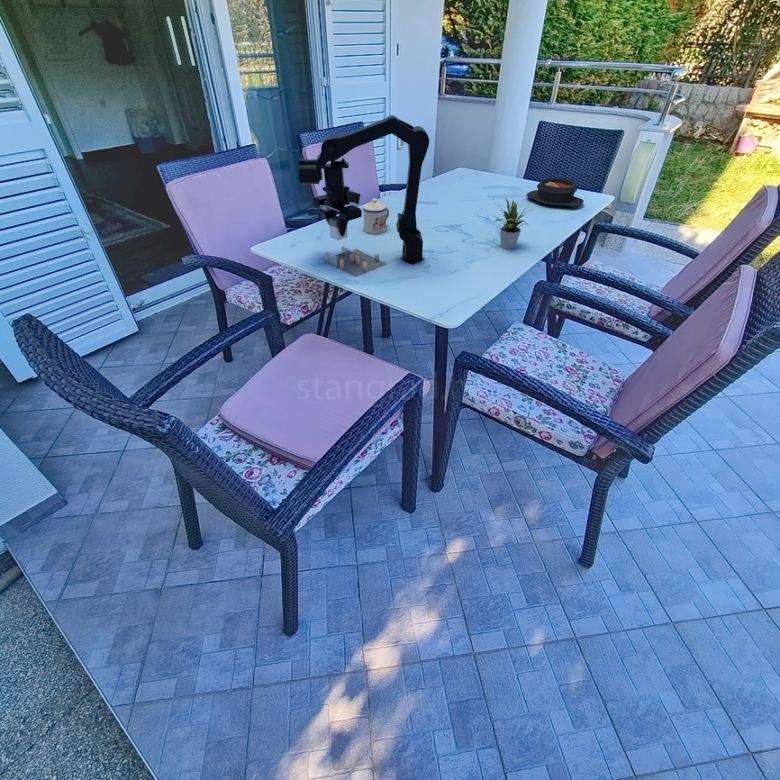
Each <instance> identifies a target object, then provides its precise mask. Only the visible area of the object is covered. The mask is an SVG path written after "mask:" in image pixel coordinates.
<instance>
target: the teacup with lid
mask: <svg viewBox="0 0 780 780" xmlns="http://www.w3.org/2000/svg"><path fill="white" fill-rule="evenodd" d="M362 213H363V214H362V215H363V230H364V232H366V233H367V234H370V235H378V234H380V235H381V234H383V233H385V232H386V231H387V220H388V219H389V217H390V209H389V208H388V207H387V205H386V204H385V203H383V202H380V201H378V199H377V198H372V199H371V201H369V202H367V203H365V204H364V205H363V206H362Z"/></svg>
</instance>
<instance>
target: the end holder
mask: <svg viewBox="0 0 780 780" xmlns="http://www.w3.org/2000/svg"><path fill="white" fill-rule="evenodd" d="M352 250H353V249H350V248H348V247H345V245H342V246H341V251H340V252H338V253H335V254H333V253H330V252H328V251H325V252H324V256H325V258H324V261H325V260H326V261H327V263H328V262H329V263H328V264H330V263H331V264H330V265H332V264H333V265H332V266H334V265H335V266H334V267H336V266H337V267H338V266H339V259H338V257H340V256H345V257H347V258H349V255H350V254H353V255H354V256H355V252H354V251H352ZM349 259H350V258H349ZM326 261H325V262H326ZM337 267H336V268H337Z"/></svg>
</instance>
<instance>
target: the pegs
mask: <svg viewBox="0 0 780 780" xmlns="http://www.w3.org/2000/svg"><path fill="white" fill-rule="evenodd" d="M349 258H350V264H354V263H356V266H360V256H354V255H353V254H350V255H349ZM374 258H375V262H379V260H380V254H374ZM339 261H340V269H339V270H341V271H343V270H344V260H343V259H340V260H339ZM363 272H367V262H363ZM367 273H368V272H367Z"/></svg>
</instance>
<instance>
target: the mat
mask: <svg viewBox="0 0 780 780" xmlns="http://www.w3.org/2000/svg"><path fill="white" fill-rule="evenodd" d="M351 250H352V251H354V252H355V256H360V266H356V263H354V264H350V259H349V258H347V257H345V256H340V257H338V259H339V260H340V259H343V260H344V270H342V271H343V272H345V273H347V274H348V275H350V276H352V277H354V278H356V277H360V276H362V275H364V274H367V273H370V272H372V271H374V270H378V269H379V268H382V267H385V266H387V265H388V263H386V262H384V261H382V260H381V259H379V262H375V256H372V255H369V254H368V253H365V252H363V251H362V250H360V249H357V248H355V249H351ZM324 261H325V262H327V261H326V260H325V259H324ZM363 262H367V272H363ZM327 263H328V264H330V265H332V266H334V267H336V268H338V269H339V270H341V269H340V261H339V266H338V267H337V266H335V265H333V264H331V263H329V262H327Z"/></svg>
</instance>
